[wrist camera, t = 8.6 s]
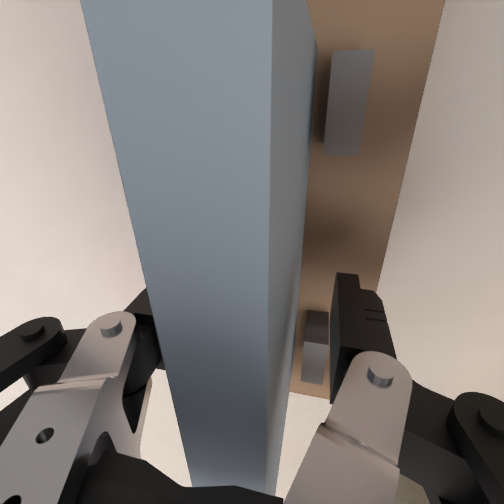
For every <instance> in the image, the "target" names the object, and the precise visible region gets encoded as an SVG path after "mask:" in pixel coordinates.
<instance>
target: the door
mask: <svg viewBox="0 0 504 504" xmlns="http://www.w3.org/2000/svg"><path fill="white" fill-rule="evenodd" d="M80 1H81V6H82V10H83V14H84V19H85V23H86V27H87V32H88V36H89V40H90V45H91V49H92V53H93V58H94V62H95V66H96V71H97V75H98V79H99V84H100V88H101V92H102V97H103V101H104V105H105V110H106V114H107V118H108V123H109V127H110V131H111V136H112V140H113V144H114V149H115V153H116V157H117V162H118V166H119V170H120V175H121V179H122V183H123V188H124V192H125V196H126V201H127V205H128V209H129V214H130V218H131V222H132V227H133V231H134V235H135V240H136V244H137V248H138V253H139V257H140V261H141V266H142V270H143V274H144V278H145V283H146V287H147V291H148V296H149V300H150V304H151V309H152V313H153V317H154V322H155V326H156V330H157V335H158V339H159V343H160V348H161V352H162V356H163V361H164V365H165V369H166V374H167V378H168V382H169V387H170V391H171V395H172V400H173V404H174V408H175V413H176V417H177V421H178V426H179V430H180V434H181V439H182V443H183V447H184V452H185V456H186V460H187V465H188V469H189V473H190V478H191V482H192V486H193V487H206V486H229V485H236V486H240V487H243V488H247V489H251V490H254V491H258V492H261V493H265V494H269V495H272V496H275V492H276V484H277V477H278V470H279V462H280V455H281V447H282V440H283V433H284V425H285V418H286V411H287V403H288V396H289V389H290V381H291V374H292V367H293V359H294V351H295V338H296V325H297V313H298V300H299V287H300V274H301V261H302V248H303V235H304V223H305V210H306V197H307V184H308V171H309V158H310V146H311V133H312V120H313V107H314V94H315V81H316V68H317V56H318V46H317V42H316V38H315V34H314V30H313V26H312V22H311V17H310V13H309V9H308V5H307V1H306V0H80Z"/></svg>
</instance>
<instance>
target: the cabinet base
mask: <svg viewBox="0 0 504 504" xmlns="http://www.w3.org/2000/svg"><path fill="white" fill-rule="evenodd" d="M306 1H307V5H308V9H309V13H310V17H311V22H312V26H313V30H314V34H315V38H316V42H317V46H318V56H317V68H316V81H315V94H314V107H313V120H312V133H311V146H310V158H309V171H308V184H307V197H306V210H305V223H304V235H303V248H302V261H301V274H300V287H299V300H298V313H297V325H296V338H295V351H294V359H293V367H292V374H291V381H290V389H289V392H294V393H299V394H304V395H309V396H314V397H319V398H324V399H329V400H330V311H331V303H332V296H333V290H334V283H335V276H336V272H341V273H350V274H358V276H359V282H360V288H361V289H367V290H373V291H374V292H375V293H376V291H377V286H378V282H379V278H380V274H381V269H382V265H383V261H384V257H385V253H386V248H387V244H388V240H389V236H390V231H391V227H392V223H393V219H394V214H395V210H396V206H397V202H398V197H399V193H400V189H401V185H402V180H403V176H404V172H405V168H406V163H407V159H408V155H409V151H410V146H411V142H412V138H413V134H414V129H415V125H416V121H417V117H418V113H419V108H420V104H421V100H422V96H423V91H424V87H425V83H426V79H427V74H428V70H429V66H430V62H431V57H432V53H433V49H434V45H435V40H436V36H437V32H438V28H439V23H440V19H441V15H442V11H443V6H444V2H445V0H306Z"/></svg>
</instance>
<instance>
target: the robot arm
mask: <svg viewBox="0 0 504 504" xmlns="http://www.w3.org/2000/svg"><path fill="white" fill-rule="evenodd" d="M156 368H157V369H162V370H166V369H165V365H164V361H163V356H162V352H161V348H160V343H159V339H158V335H157V330H156V326H155V322H154V317H153V313H152V309H151V304H150V300H149V296H148V291H147V287H146V289H144V290H143V291H142V292H141V293H140V294H139V295H138V296H137V297H136V298H135V299H134V300H133V301H132V303H131V304H130V305H129V306H128V307H127V308H126V309H125V310H124V311H117V312H112V313H108V314H105V315H103V316H101V317H99V318H97V319H96V320H94V321H93V322H92V323H91V324H90V325H89V326H88V328H85V329H74V330H64V329H63V327H62V324H61V322H60V320H59V319H57V318H54V317H42V318H37V319H33V320H31V321H28V322H26V323H24V324H22V325H20V326H18V327H17V328H15V329H13V330H11V331H10V332H8V333H6V334H5V335H3V336H1V337H0V392H2V391H3V390H4V389H6V388H7V387H9V386H10V385H11V384H13V383H14V382H16V381H17V380H18V379H20V378H21V377H23V379H24V380H25V382H26V384H27V385H28V387H29V390H28V391H26V392H25V393H24V394H22V395H21V396H20V397H18V398H17V399H16V400H14V401H13V402H12V403H10V404H9V405H8V406H7V407H5V408H4V409H3V410H1V411H0V504H394V503H395V497H396V492H397V486H398V480H399V473H400V474H402V475H403V476H405V477H407V478H409V479H410V480H412V481H414V482H415V483H417V484H419V485H421V486H422V487H423V489H424V491H425V493H426V496H427V498H428V500H429V503H430V504H504V402H502V401H500V400H498V399H496V398H494V397H492V396H489V395H486V394H483V393H478V392H466V393H462V394H460V395H459V396H458V397H457V398H456V399H455V401H454V400H452V399H450V398H447V397H445V396H443V395H440V394H438V393H436V392H433V391H431V390H429V389H427V388H425V387H423V386H421V385H419V384H418V383H416V382H415V381H414V380H412V378H411V376H410V374H409V372H408V370H407V369H406V368H405V367H404V366H403V365H402V364H401V363H400V362H399V361H397V358H396V354H395V350H394V346H393V342H392V338H391V334H390V330H389V326H388V323H387V318H386V315H385V311H384V307H383V303H382V300H381V299H380V298H379V297H378V295H377V294H376V293H375V292H374V291H373V290H367V289H361V288H360V282H359V276H358V274H350V273H341V272H336V276H335V283H334V290H333V296H332V303H331V311H330V404H332V407H331V410H330V412H329V414H328V417H327V419H326V421H325V422H324V423H321V424H320V425H319V427H318V429H317V431H316V433H315V435H314V437H313V439H312V441H311V444H310V446H309V448H308V450H307V452H306V455H305V457H304V459H303V461H302V463H301V466H300V468H299V470H298V472H297V474H296V477H295V479H294V481H293V483H292V485H291V488H290V490H289V492H288V494H287V496H286V499H285V501H284V503H283V498H279V497H276V496H272V495H269V494H265V493H261V492H258V491H254V490H251V489H247V488H243V487H240V486H236V485H229V486H206V487H183V486H181V485H179V484H177V483H176V482H175V481H173V480H172V479H170V478H169V477H168V476H166V475H165V474H163V473H162V472H161V471H159V470H158V469H156V468H155V467H154V466H152V465H151V464H149V463H148V462H147V461H145V460H142V459H141V457H140V441H141V435H142V431H143V426H144V421H145V416H146V411H147V407H148V402H149V397H150V392H151V387H152V378H151V375H152V373H153V372H154V370H155V369H156Z"/></svg>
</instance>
